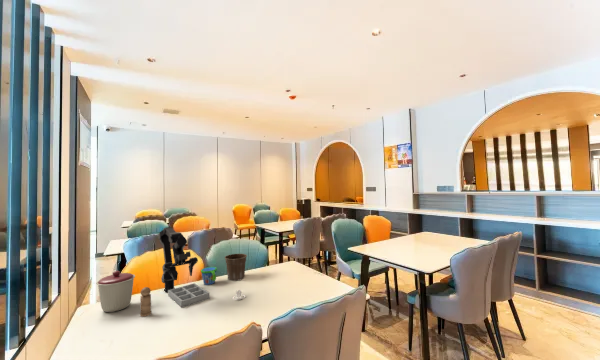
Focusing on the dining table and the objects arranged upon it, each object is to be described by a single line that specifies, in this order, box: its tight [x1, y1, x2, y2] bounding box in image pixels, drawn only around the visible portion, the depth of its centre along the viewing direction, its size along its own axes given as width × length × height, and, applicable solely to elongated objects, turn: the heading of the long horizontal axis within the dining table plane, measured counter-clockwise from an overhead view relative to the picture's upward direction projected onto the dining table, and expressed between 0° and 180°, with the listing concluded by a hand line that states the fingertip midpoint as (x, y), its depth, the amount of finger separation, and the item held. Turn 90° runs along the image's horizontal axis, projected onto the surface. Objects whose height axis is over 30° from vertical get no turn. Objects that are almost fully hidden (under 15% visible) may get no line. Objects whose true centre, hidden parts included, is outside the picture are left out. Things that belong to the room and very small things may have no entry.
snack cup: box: [200, 266, 218, 286], centre depth 184 cm, size 16×10×10 cm
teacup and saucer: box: [231, 289, 246, 301], centre depth 158 cm, size 9×8×4 cm
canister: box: [96, 270, 136, 313], centre depth 149 cm, size 18×18×21 cm
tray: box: [167, 282, 211, 309], centre depth 161 cm, size 24×16×4 cm
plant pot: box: [224, 253, 248, 281], centre depth 194 cm, size 16×16×16 cm
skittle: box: [139, 286, 152, 318], centre depth 140 cm, size 5×5×14 cm
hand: (183, 277), depth 152 cm, fingers open, 9 cm apart
